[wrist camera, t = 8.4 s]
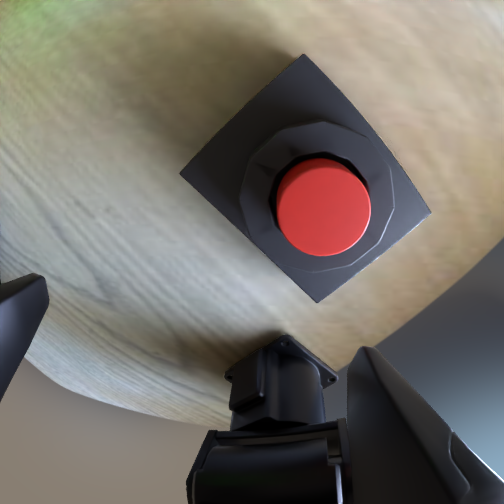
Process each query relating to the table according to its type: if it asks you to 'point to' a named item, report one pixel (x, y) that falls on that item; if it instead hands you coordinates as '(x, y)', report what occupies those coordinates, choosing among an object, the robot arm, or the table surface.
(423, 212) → the control block
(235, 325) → the table surface
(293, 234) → the button
